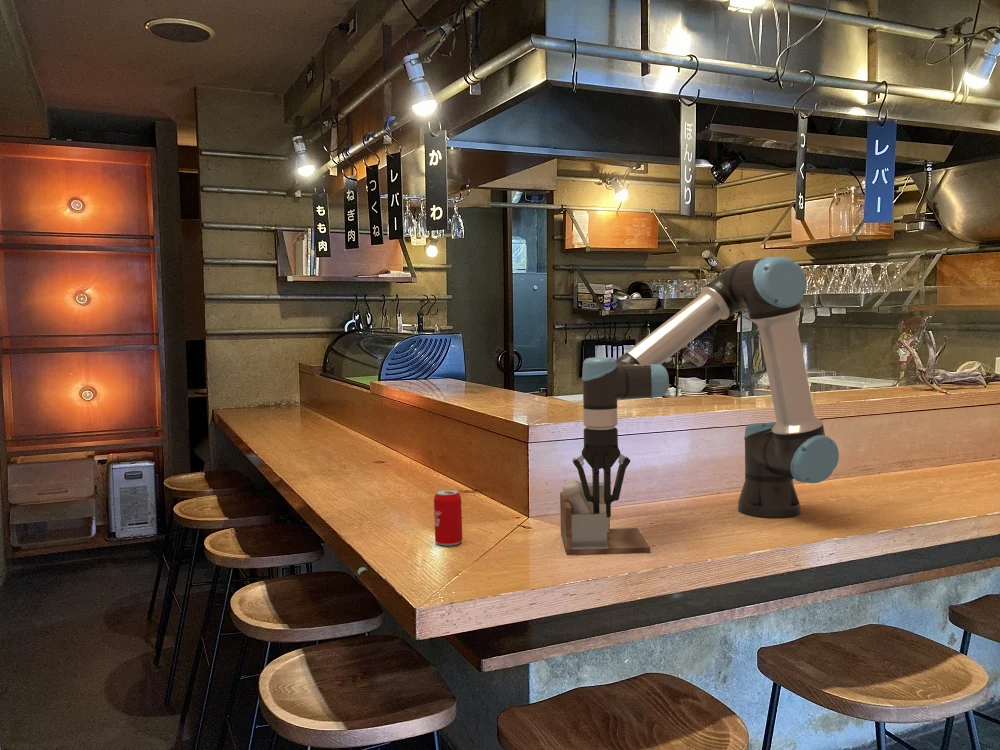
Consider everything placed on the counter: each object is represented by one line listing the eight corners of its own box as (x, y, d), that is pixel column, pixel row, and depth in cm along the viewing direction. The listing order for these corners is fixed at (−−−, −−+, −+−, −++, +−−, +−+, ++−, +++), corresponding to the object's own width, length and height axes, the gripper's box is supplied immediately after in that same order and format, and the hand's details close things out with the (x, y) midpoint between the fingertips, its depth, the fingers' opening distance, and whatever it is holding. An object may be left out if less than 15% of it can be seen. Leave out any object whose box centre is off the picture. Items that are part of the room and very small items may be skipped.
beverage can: (448, 538, 186) (446, 487, 185) (468, 542, 182) (466, 490, 181) (429, 544, 181) (428, 492, 180) (449, 548, 177) (448, 495, 176)
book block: (607, 528, 186) (606, 482, 185) (610, 533, 182) (609, 486, 181) (565, 529, 186) (565, 483, 185) (567, 534, 182) (566, 487, 181)
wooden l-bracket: (637, 533, 186) (636, 490, 185) (650, 552, 170) (649, 506, 170) (560, 534, 186) (560, 491, 185) (566, 554, 170) (565, 507, 170)
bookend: (606, 544, 173) (606, 512, 173) (608, 548, 170) (608, 516, 169) (570, 545, 173) (570, 513, 173) (572, 549, 170) (571, 517, 169)
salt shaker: (580, 545, 174) (562, 490, 173) (572, 538, 180) (554, 485, 178) (604, 534, 175) (586, 480, 174) (595, 528, 181) (577, 476, 179)
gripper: (626, 424, 180) (628, 526, 181) (569, 425, 180) (571, 528, 181) (632, 428, 172) (634, 535, 174) (572, 430, 172) (575, 537, 174)
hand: (602, 531), depth 177 cm, fingers closed
